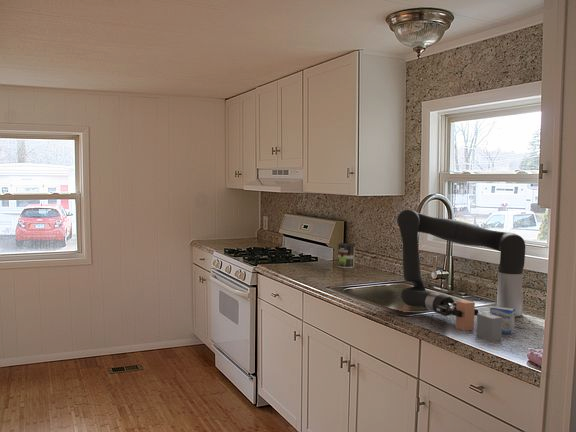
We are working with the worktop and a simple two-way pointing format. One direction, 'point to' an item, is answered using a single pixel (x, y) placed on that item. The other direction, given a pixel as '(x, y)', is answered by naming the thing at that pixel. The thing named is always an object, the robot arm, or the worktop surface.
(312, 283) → the worktop surface
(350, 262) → the clear container
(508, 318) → the medicine box
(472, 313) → the terracotta block
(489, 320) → the slate-grey plastic block
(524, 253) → the robot arm
